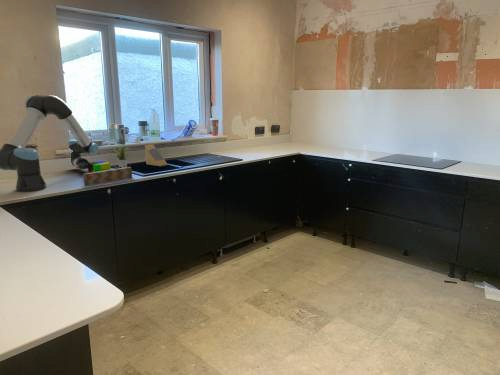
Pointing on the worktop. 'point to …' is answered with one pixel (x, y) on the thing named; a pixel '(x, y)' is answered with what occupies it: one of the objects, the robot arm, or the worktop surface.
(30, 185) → the robot arm
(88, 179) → the walnut board
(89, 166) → the puzzle toy
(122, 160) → the house plant
